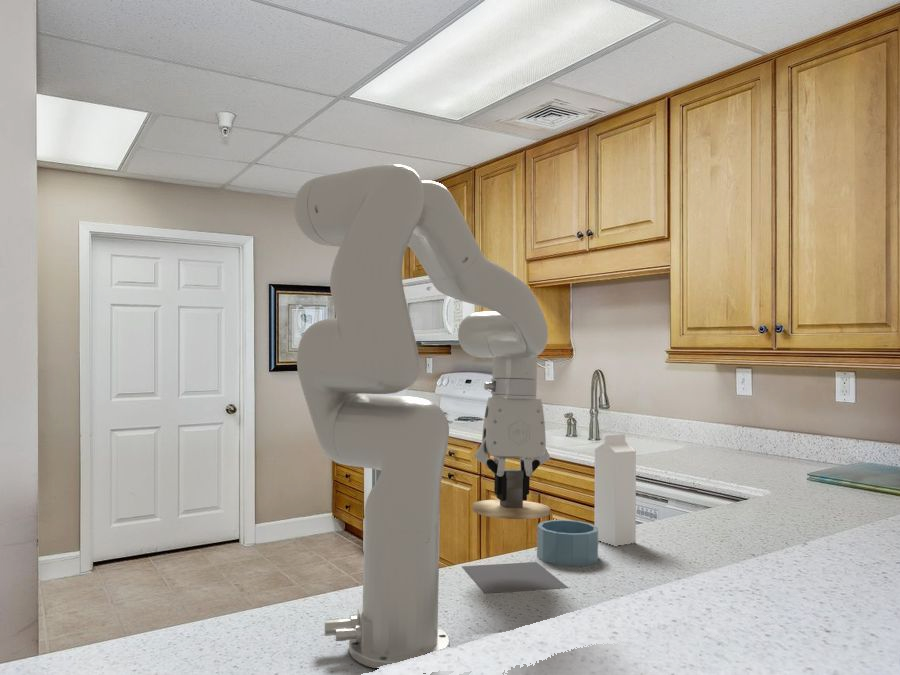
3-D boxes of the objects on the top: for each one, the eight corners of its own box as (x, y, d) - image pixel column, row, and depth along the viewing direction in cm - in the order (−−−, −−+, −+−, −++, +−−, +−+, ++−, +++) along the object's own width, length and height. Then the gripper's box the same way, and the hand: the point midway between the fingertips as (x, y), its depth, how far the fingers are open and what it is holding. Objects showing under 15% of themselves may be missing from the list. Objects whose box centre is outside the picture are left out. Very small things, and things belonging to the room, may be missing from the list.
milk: (635, 543, 134) (637, 435, 135) (614, 547, 131) (616, 436, 132) (613, 536, 139) (615, 432, 140) (593, 539, 136) (594, 433, 137)
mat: (484, 596, 101) (484, 593, 101) (461, 569, 115) (461, 566, 115) (568, 590, 104) (568, 587, 105) (536, 564, 118) (536, 561, 118)
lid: (485, 519, 102) (486, 475, 102) (463, 504, 114) (464, 465, 115) (562, 518, 105) (563, 475, 105) (533, 503, 117) (534, 465, 118)
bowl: (551, 570, 115) (551, 535, 115) (529, 552, 126) (529, 521, 126) (608, 566, 118) (608, 532, 118) (581, 549, 128) (582, 518, 129)
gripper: (474, 388, 105) (470, 504, 104) (567, 391, 109) (565, 503, 108) (462, 388, 113) (458, 496, 111) (550, 390, 117) (548, 495, 115)
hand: (511, 498), depth 110 cm, fingers closed on lid, 3 cm apart
